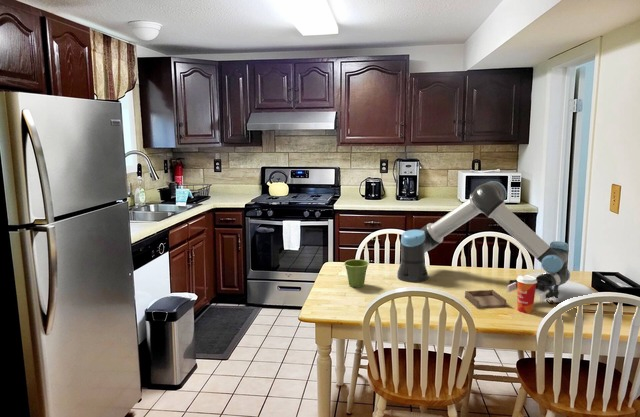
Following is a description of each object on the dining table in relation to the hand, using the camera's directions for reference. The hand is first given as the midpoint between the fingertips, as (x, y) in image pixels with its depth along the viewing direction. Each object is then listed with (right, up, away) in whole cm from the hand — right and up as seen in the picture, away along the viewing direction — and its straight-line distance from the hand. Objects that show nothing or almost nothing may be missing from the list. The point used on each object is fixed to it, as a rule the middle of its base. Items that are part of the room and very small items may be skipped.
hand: (523, 293), depth 185 cm
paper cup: (+2, -8, +3) cm, 8 cm away
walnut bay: (-11, -6, +13) cm, 18 cm away
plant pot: (-65, -3, +37) cm, 74 cm away
